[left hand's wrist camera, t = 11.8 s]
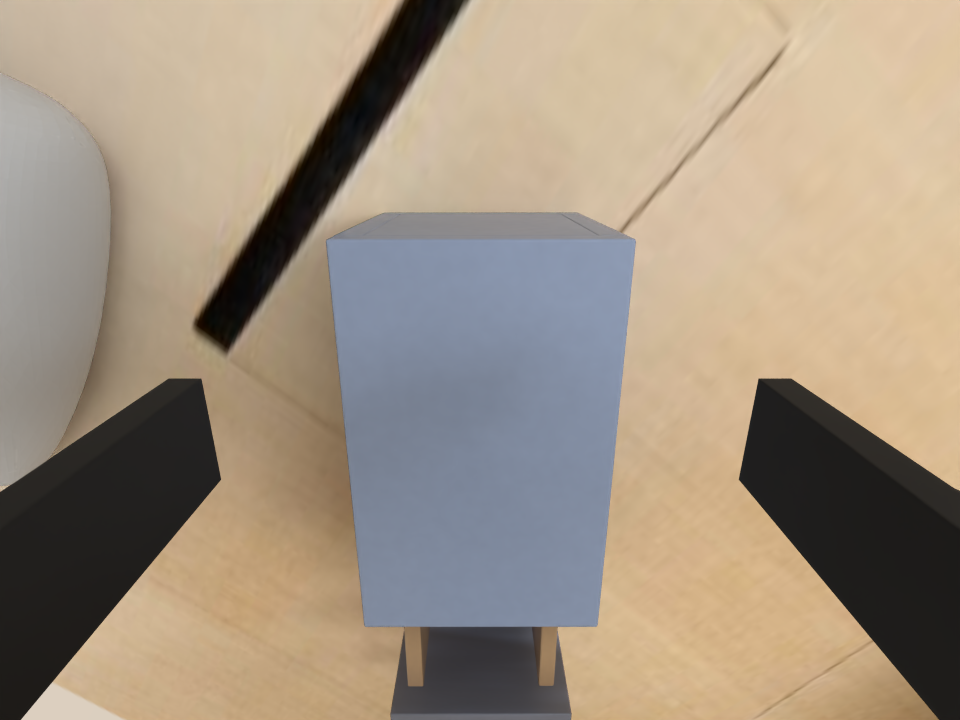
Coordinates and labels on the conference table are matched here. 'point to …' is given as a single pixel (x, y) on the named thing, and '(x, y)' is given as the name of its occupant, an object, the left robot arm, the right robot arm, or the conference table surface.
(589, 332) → the cabinet
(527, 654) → the drawer
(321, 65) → the conference table surface
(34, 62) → the conference table surface
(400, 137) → the conference table surface
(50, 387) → the projector
